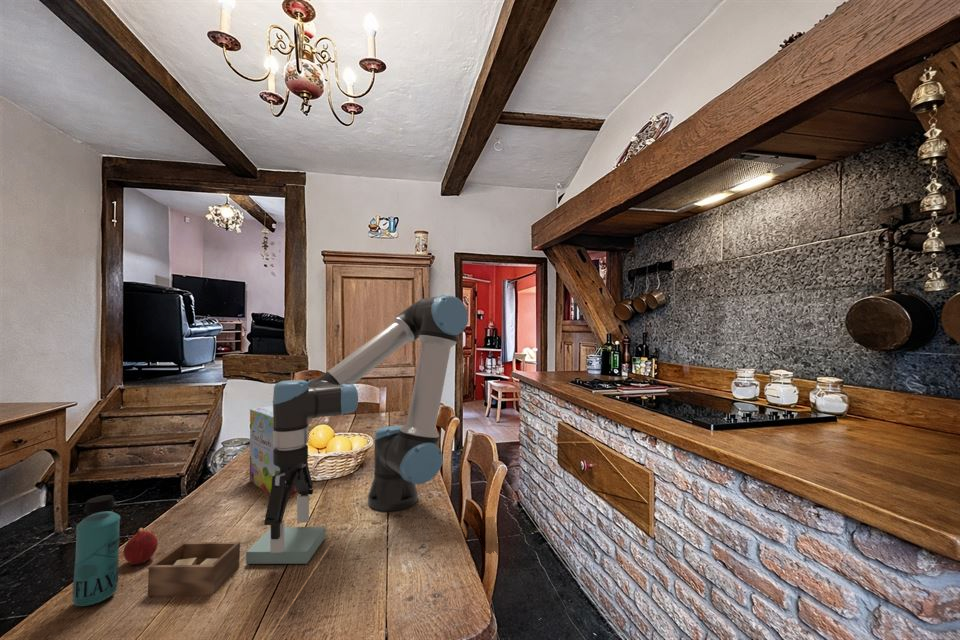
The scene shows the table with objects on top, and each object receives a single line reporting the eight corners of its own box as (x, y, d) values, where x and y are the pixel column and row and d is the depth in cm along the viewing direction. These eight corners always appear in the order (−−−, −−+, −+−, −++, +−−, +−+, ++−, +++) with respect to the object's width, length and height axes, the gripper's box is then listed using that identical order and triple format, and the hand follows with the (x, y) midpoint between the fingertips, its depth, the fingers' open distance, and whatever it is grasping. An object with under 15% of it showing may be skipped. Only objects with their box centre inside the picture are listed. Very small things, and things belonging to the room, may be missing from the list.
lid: (325, 542, 101) (325, 526, 101) (306, 568, 89) (307, 551, 89) (271, 542, 100) (271, 527, 101) (245, 569, 89) (246, 551, 89)
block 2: (223, 575, 85) (223, 558, 85) (212, 585, 82) (213, 568, 82) (206, 575, 85) (206, 558, 85) (195, 585, 82) (195, 568, 82)
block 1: (196, 574, 86) (196, 557, 86) (189, 584, 82) (189, 566, 82) (176, 576, 85) (177, 560, 85) (169, 587, 81) (169, 569, 81)
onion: (163, 560, 92) (164, 524, 92) (134, 574, 86) (135, 536, 87) (145, 555, 94) (147, 520, 94) (116, 569, 88) (118, 532, 89)
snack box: (246, 482, 140) (248, 408, 141) (272, 475, 147) (274, 405, 147) (272, 499, 126) (274, 416, 127) (300, 491, 132) (302, 412, 133)
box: (239, 569, 88) (240, 542, 89) (211, 597, 79) (212, 566, 79) (181, 570, 88) (182, 542, 88) (147, 598, 79) (148, 567, 79)
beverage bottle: (64, 619, 73) (69, 507, 73) (79, 598, 79) (84, 494, 79) (111, 608, 76) (115, 501, 76) (123, 588, 82) (127, 489, 82)
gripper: (297, 432, 108) (297, 512, 108) (245, 463, 83) (245, 567, 83) (325, 432, 108) (325, 511, 108) (282, 463, 83) (282, 566, 83)
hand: (291, 535), depth 95 cm, fingers open, 13 cm apart
